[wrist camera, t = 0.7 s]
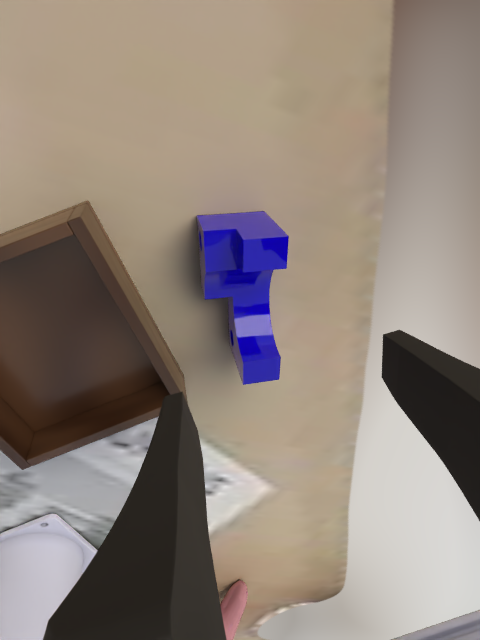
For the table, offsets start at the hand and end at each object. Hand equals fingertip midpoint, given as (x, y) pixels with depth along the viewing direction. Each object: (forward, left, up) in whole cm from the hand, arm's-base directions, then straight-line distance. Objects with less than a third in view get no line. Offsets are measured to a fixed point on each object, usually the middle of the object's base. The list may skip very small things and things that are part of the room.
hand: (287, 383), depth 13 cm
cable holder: (0, -1, -10) cm, 10 cm away
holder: (-10, 0, -10) cm, 14 cm away
